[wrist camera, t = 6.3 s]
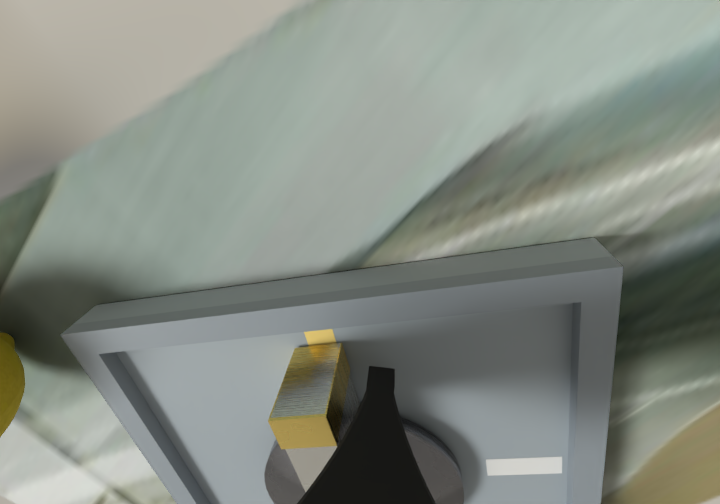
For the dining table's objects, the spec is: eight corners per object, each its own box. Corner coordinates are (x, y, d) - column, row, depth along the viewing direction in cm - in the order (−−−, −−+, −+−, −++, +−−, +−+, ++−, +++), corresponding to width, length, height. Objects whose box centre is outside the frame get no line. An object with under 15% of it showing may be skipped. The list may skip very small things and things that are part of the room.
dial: (471, 527, 17) (483, 613, 15) (301, 529, 19) (284, 608, 16) (435, 331, 13) (443, 407, 10) (213, 357, 14) (168, 428, 11)
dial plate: (576, 555, 20) (591, 600, 18) (249, 553, 23) (237, 591, 21) (594, 237, 12) (623, 266, 10) (95, 305, 15) (59, 334, 14)
